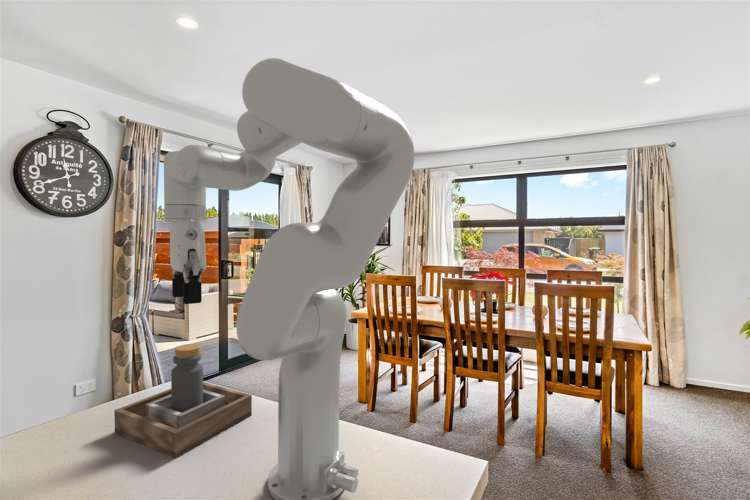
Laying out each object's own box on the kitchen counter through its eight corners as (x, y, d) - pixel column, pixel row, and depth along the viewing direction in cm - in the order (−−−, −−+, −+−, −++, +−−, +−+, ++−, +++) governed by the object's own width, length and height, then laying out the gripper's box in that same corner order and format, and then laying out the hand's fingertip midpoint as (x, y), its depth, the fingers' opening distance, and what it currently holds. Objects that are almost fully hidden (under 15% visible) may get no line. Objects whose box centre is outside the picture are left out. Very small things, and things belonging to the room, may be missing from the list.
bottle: (208, 413, 82) (208, 343, 81) (192, 427, 76) (192, 352, 75) (182, 411, 82) (182, 342, 82) (164, 425, 76) (164, 350, 76)
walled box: (251, 415, 83) (251, 392, 83) (175, 458, 67) (175, 430, 67) (194, 398, 91) (194, 377, 91) (114, 432, 75) (114, 407, 75)
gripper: (217, 214, 73) (218, 304, 74) (194, 217, 86) (195, 292, 87) (173, 212, 68) (174, 308, 69) (156, 215, 82) (157, 295, 82)
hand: (186, 299), depth 78 cm, fingers open, 9 cm apart
